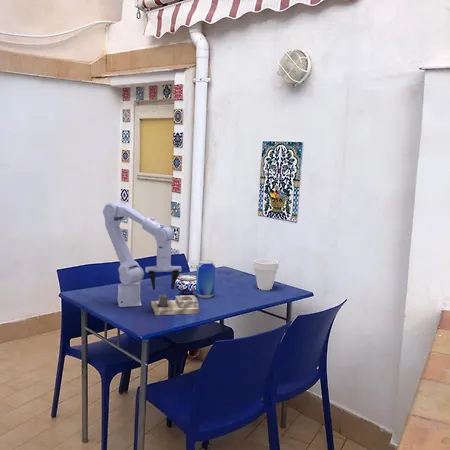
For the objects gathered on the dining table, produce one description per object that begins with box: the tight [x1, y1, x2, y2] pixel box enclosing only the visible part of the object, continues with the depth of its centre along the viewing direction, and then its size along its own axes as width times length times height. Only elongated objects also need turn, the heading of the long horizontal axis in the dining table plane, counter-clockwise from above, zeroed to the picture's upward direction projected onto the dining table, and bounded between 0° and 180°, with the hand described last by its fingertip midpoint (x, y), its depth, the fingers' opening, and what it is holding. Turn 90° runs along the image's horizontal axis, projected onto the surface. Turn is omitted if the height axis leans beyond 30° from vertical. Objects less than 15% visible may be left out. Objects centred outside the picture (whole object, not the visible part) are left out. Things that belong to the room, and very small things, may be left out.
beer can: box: [195, 259, 216, 299], centre depth 235 cm, size 8×8×16 cm
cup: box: [253, 258, 280, 291], centre depth 252 cm, size 12×12×14 cm
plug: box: [158, 294, 168, 307], centre depth 213 cm, size 3×4×6 cm
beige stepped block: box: [150, 294, 200, 316], centre depth 214 cm, size 18×13×4 cm
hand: (163, 288), depth 212 cm, fingers open, 7 cm apart
